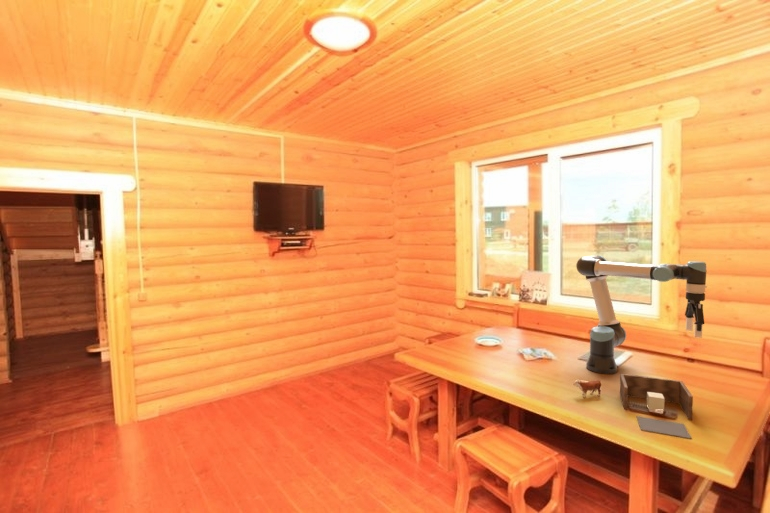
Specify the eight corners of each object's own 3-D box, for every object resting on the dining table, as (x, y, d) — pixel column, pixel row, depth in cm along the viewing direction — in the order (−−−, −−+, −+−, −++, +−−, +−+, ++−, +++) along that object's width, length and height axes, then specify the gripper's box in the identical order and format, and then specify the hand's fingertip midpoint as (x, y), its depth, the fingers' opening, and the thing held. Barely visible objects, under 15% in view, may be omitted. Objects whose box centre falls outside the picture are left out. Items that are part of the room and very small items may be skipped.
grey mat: (641, 430, 153) (641, 429, 153) (636, 416, 164) (636, 416, 164) (691, 439, 146) (691, 438, 146) (683, 424, 157) (683, 423, 157)
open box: (624, 409, 171) (624, 387, 170) (619, 393, 187) (620, 373, 186) (692, 420, 160) (692, 396, 159) (681, 402, 176) (682, 381, 175)
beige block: (648, 412, 168) (649, 396, 167) (646, 406, 173) (646, 391, 172) (664, 414, 166) (664, 398, 165) (661, 409, 170) (661, 393, 170)
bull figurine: (571, 394, 187) (571, 378, 186) (598, 393, 188) (598, 376, 187) (576, 398, 182) (577, 381, 182) (603, 397, 183) (604, 380, 183)
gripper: (714, 296, 182) (711, 341, 184) (696, 288, 205) (694, 328, 207) (694, 295, 185) (692, 339, 187) (679, 288, 208) (677, 327, 210)
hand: (693, 333), depth 197 cm, fingers open, 13 cm apart
